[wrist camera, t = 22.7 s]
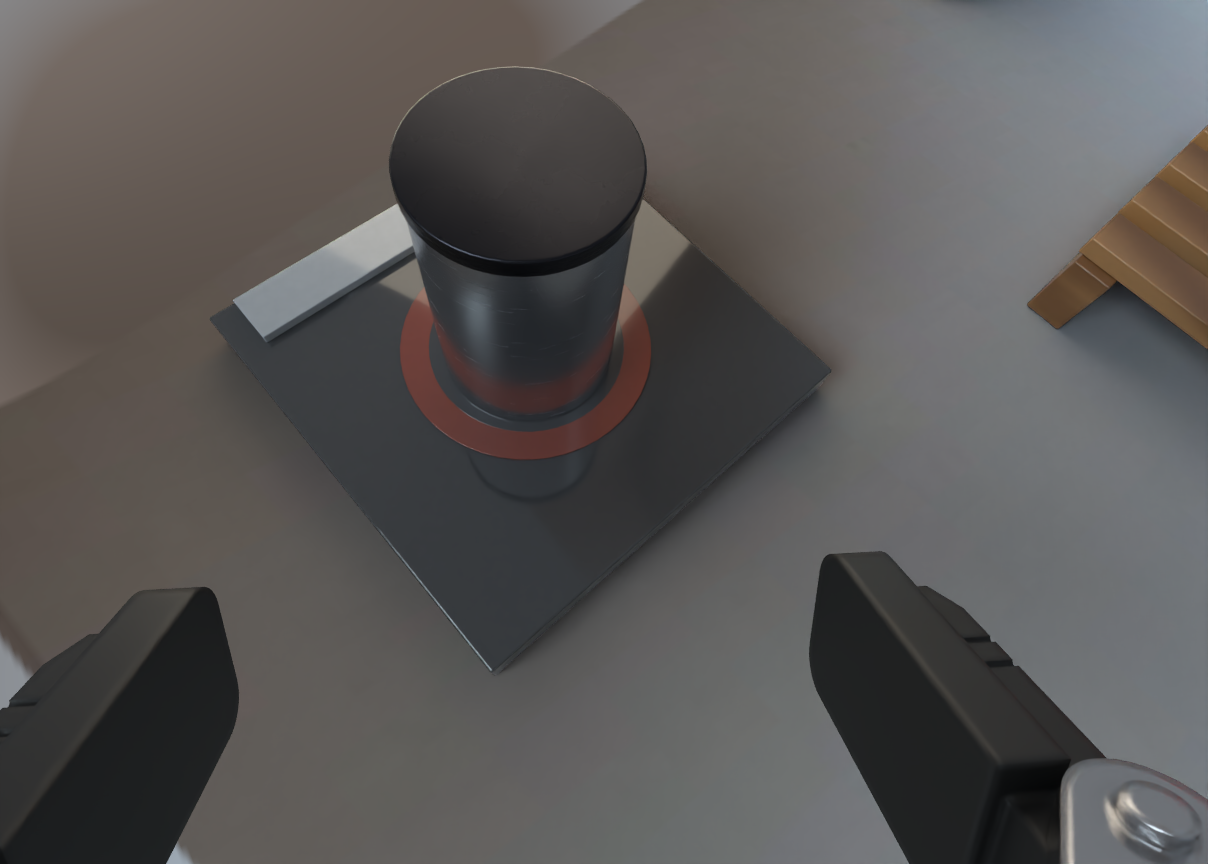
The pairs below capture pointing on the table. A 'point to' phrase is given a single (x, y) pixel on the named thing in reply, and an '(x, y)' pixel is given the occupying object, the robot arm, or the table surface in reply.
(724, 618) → the table surface
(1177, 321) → the wooden pallet
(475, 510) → the stove
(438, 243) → the metal canister
